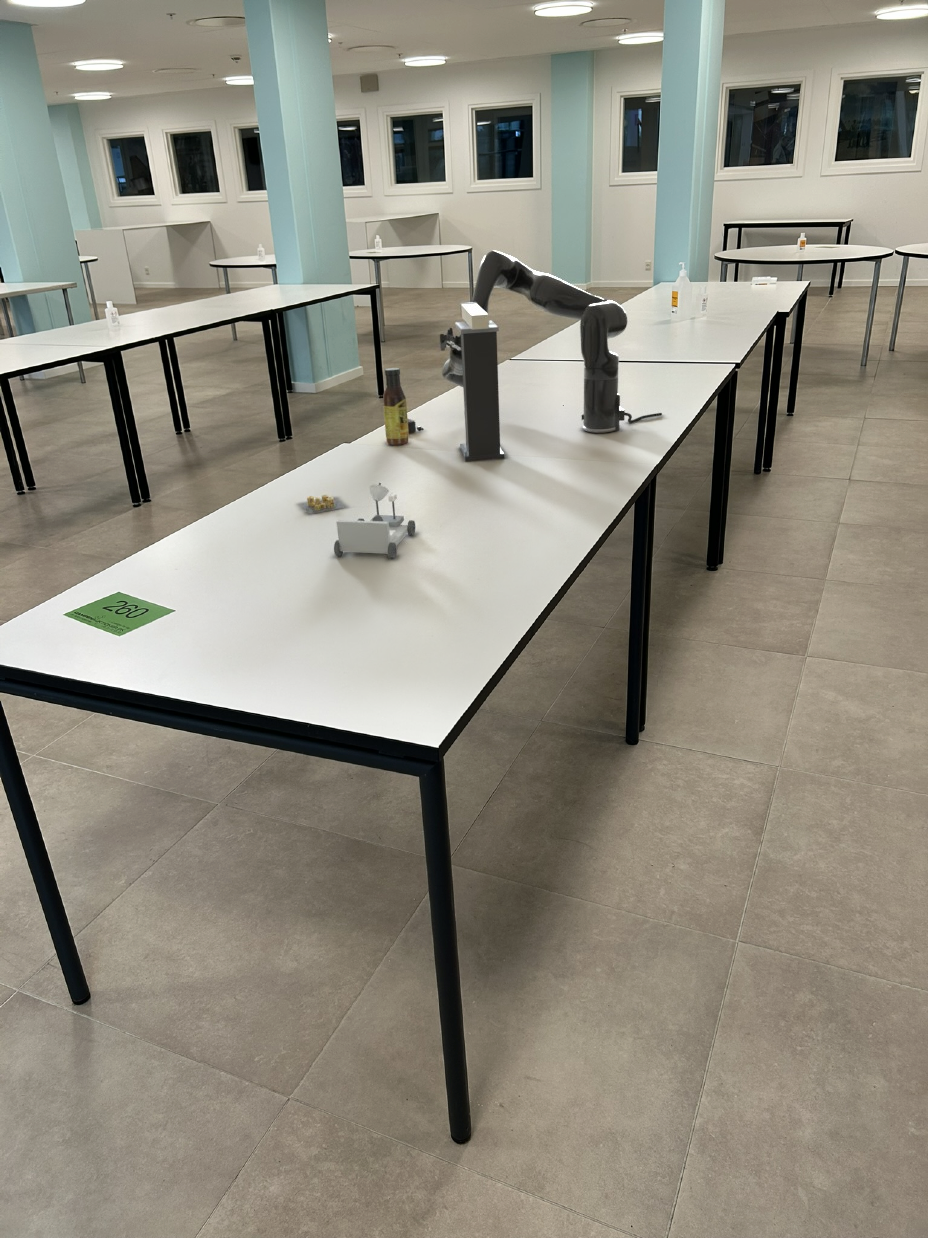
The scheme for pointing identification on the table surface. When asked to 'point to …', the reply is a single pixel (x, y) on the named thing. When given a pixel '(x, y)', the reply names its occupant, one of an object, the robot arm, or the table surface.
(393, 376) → the sauce bottle
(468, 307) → the cream rectangular bar
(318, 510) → the dice set
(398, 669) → the table surface
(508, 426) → the table surface
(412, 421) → the wireless earbuds
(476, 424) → the dark grey pillar
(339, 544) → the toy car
